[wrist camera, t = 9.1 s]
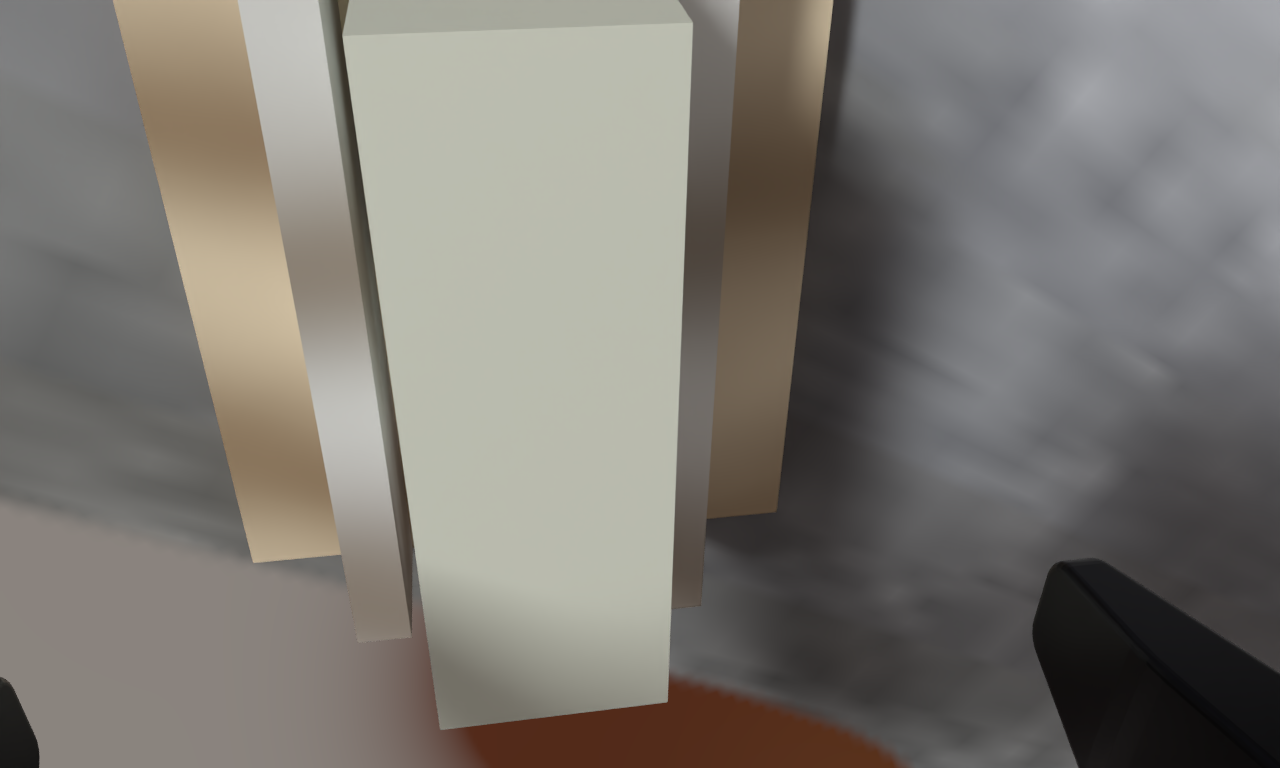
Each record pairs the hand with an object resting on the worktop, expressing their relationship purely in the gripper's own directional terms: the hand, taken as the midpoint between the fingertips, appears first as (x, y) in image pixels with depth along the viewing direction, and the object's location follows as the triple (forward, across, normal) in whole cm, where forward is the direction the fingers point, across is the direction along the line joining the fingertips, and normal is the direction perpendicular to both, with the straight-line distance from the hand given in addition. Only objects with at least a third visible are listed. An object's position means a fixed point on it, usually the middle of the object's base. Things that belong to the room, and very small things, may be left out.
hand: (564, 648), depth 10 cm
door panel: (+11, 0, 0) cm, 11 cm away
